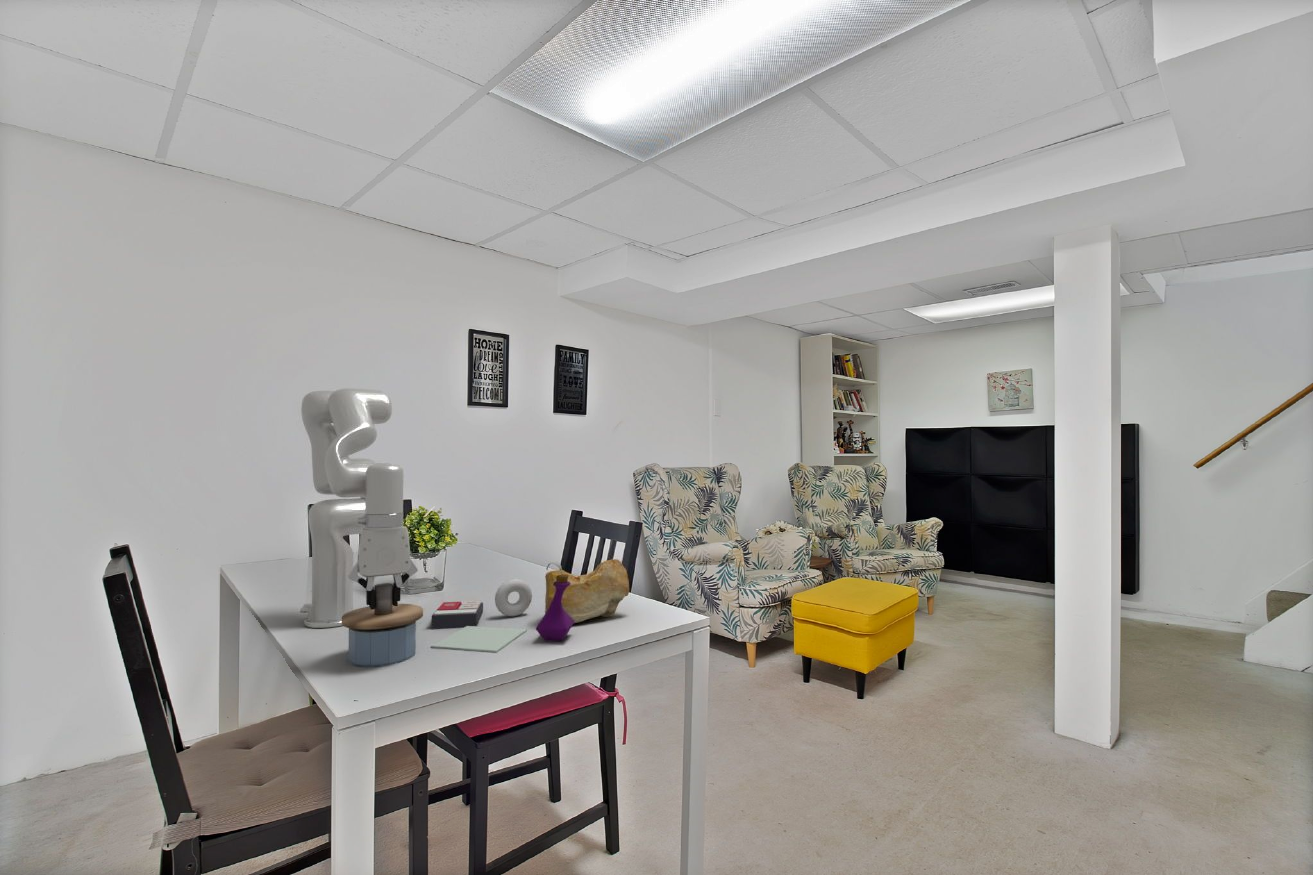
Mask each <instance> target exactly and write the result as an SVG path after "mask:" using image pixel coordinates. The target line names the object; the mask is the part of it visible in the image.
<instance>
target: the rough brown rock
mask: <svg viewBox="0 0 1313 875" xmlns="http://www.w3.org/2000/svg"><path fill="white" fill-rule="evenodd" d="M562 573H563V574H567V575H569V577H568V580H567V581H568V582H570V586H567V588H566V589H565V590H564V593H563V596H562V607H563V609H564V610H565V611H566V613H567V614H568V615H569V616H570V617H571V618H572V619H573V620H574V623H573V624H577V623H582V622H584V621H586V620H589V619H593V618H597V617H600V616H601V617H603V618H608V617H609V618H610V617H612V616H613V615H615V613H616V611H617V608H618V606H619V604H620V602H621V601H623V600H624V598H626V597H627V596H628V595H629V593H630V583H629V582H630V581H629V577H628V572H627V569H626V568H625V567H624V565H623V562H622V561H621V560H620V559H617V558H611V559H609V560H604V561H602V562H600V563H599V564H598V565H597V567H595V569H594V570H593V571H591V572H589V573H586V574H582V575H578V576H576V575H574V574H572V573H569V572H567V571H565V570H563V569H562V572H561V570H560V569H555V570H550V571H549V570H548V571H547V572H546V573H545V576H544V577H545V600H544V601H545V608H544V609H545V610H544V613H546V612H547V610H548V608H549V606H550V604H551V602H552V600H553V598H554V595H555V592H556V588H555V586H554V585H553V583H554V582H556V577H557V576H558V575H562Z"/></svg>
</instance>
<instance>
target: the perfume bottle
mask: <svg viewBox="0 0 1313 875" xmlns="http://www.w3.org/2000/svg"><path fill="white" fill-rule="evenodd" d="M551 564H552V565H555V566H557V568H558V569H559V570H561V572H562V570H563V569H562V565H561V564H560V563H559V562H558V561H551V562H548V564H547V566H546V568H545V569H546V571H549V570H548V569H549V567H550V566H551ZM568 577H569V575H567V574H563V573H562V575H558V576H557V577H556V582H554V583H553V585H554V586H555V588H556V592H555V595H554V598H553V600H552V602H551V604H550V606H549V608H548V610H547V612H546V613H545V612H544V613H545V614H544V615H543V617H541V620H540V621H539V623H538V624H537V626H536V627H535V630H536V632H537V633H538V634H539V635H540V636H541V638H542V640H544V642H563V641H562V640H565V638H566V637H567V635H568V633H569V632H570V630H571V629H572V626H574V624H575V623H574V620H573V619H572V618H571V617H570V616H569V615H568V614H567V613H566V611H565V610H564V609H563V607H562V596H563V593H564V590H565V589H566V588H567V586H570V582H568V581H567V580H568Z"/></svg>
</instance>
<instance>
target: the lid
mask: <svg viewBox="0 0 1313 875" xmlns="http://www.w3.org/2000/svg"><path fill="white" fill-rule="evenodd" d="M373 587H374V590H375V609H372V610H371V609H370V607H369V605H367V606H363V607H359V608H356V609H353V610H352V611H350V612H347V613H345V614H344V615H343V616H342V625H341V626H343V627H344V628H347V629H349V628H351V629H362V630H369V629H384V628H391V627H397V626H402V625H406V624H409V623H412V622H415V621H416V622H417V621H419V620H420V619H422V617H423V616H424V608H423V607H422V606H420V605H417V604H411V603H398V606H393V583H391V582H390V583H389V582H385V583H378V584H374V586H373Z"/></svg>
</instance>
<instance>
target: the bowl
mask: <svg viewBox="0 0 1313 875" xmlns="http://www.w3.org/2000/svg"><path fill="white" fill-rule="evenodd" d="M347 648H348V650H347V651H348V656H347V658H348V661H349V663H350V664H351V665H353V666H356V667H365V668H369V667H370V668H373V667H375V668H376V667H382V666H383V667H384V666H390V665H394V664H398V663H401V662H404V661H407V660H410V659H411V658H413V657H414V656H415V655H416V650H417V621H415V622H412V623H409V624H406V625H402V626H397V627H391V628H384V629H369V630H362V629H351V628H348V647H347Z"/></svg>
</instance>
